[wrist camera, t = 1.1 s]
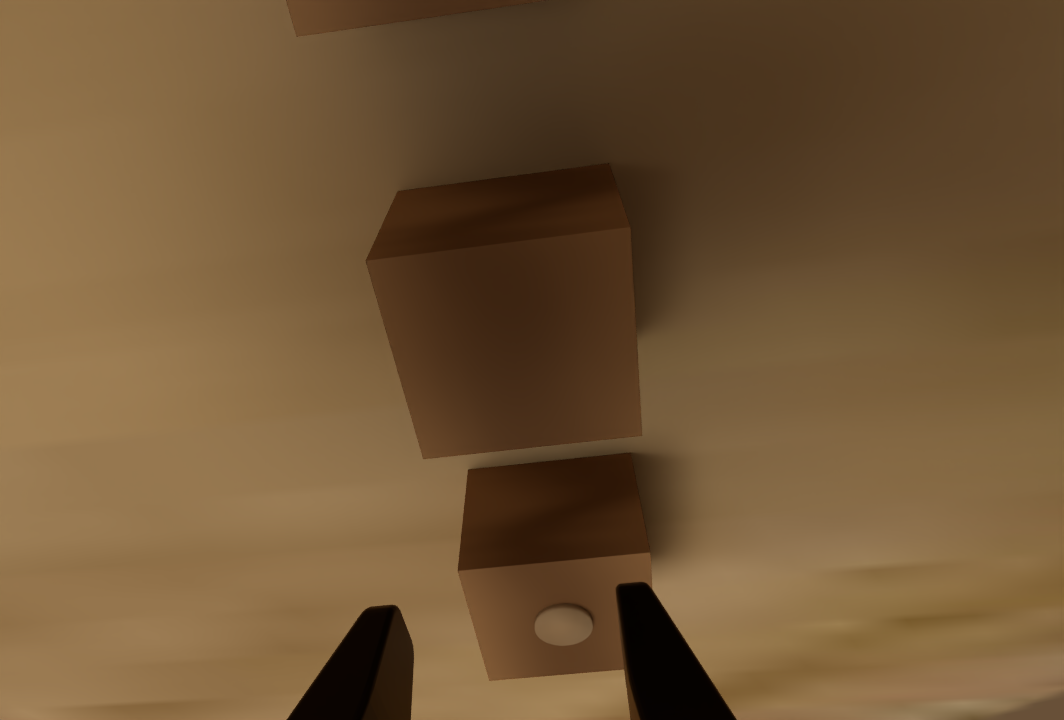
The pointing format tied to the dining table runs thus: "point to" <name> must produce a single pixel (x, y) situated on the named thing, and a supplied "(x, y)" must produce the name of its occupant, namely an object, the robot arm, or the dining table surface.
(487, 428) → the plain block
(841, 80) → the dining table surface
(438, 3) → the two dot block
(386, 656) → the robot arm
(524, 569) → the one dot block
